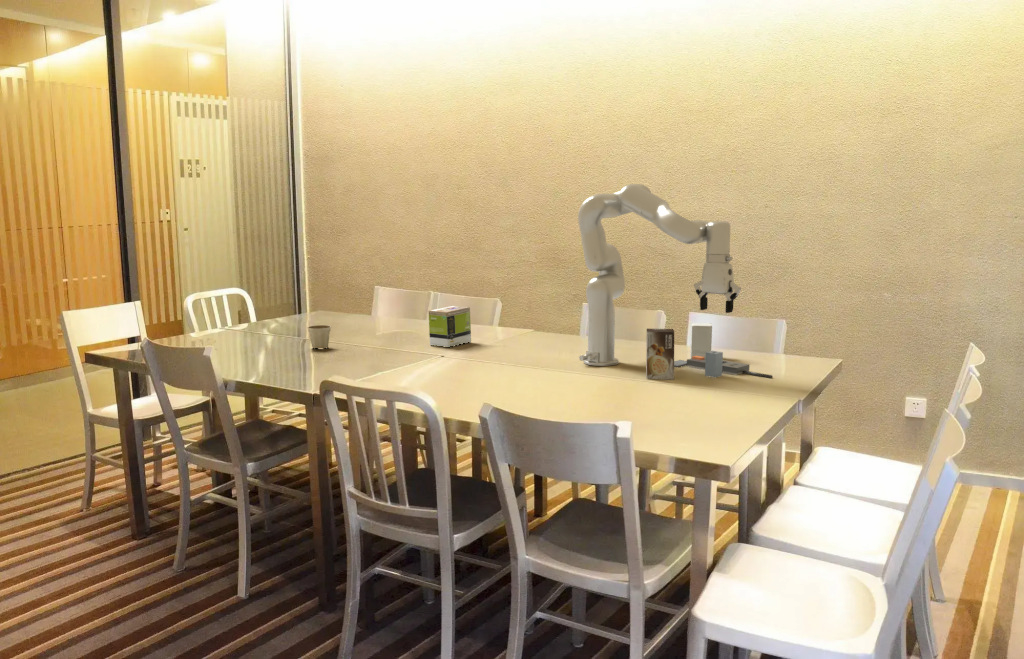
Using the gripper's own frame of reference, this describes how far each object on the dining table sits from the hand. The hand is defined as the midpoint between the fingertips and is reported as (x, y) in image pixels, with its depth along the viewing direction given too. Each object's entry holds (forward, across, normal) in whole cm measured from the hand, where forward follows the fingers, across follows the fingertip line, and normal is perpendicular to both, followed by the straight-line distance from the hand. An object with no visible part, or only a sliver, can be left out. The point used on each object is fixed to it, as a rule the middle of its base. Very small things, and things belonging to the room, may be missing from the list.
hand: (716, 311), depth 279 cm
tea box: (+21, +107, +26) cm, 112 cm away
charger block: (+22, 0, 0) cm, 22 cm away
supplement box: (+22, +20, -22) cm, 37 cm away
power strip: (+22, 0, -10) cm, 24 cm away
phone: (+22, +19, -7) cm, 30 cm away
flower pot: (+21, +137, +68) cm, 155 cm away
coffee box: (+22, +11, +15) cm, 29 cm away
